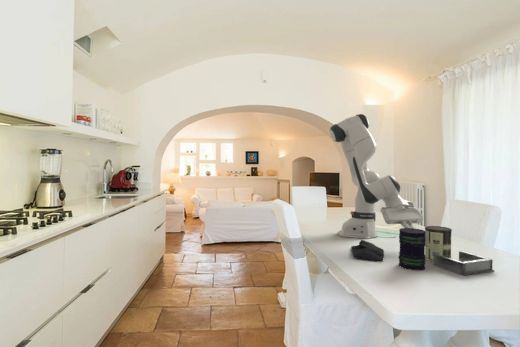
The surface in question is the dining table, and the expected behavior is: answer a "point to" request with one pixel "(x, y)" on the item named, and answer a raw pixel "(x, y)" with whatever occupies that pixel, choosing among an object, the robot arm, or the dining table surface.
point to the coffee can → (437, 242)
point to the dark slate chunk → (367, 251)
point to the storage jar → (412, 248)
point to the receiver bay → (464, 263)
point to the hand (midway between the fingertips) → (410, 230)
